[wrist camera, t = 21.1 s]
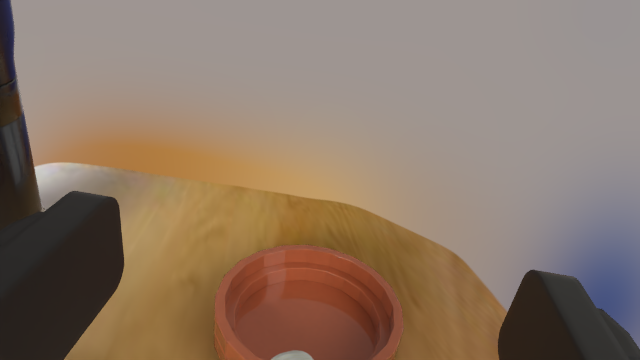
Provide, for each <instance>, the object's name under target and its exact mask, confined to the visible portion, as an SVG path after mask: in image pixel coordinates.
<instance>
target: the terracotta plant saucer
mask: <svg viewBox="0 0 640 360" xmlns="http://www.w3.org/2000/svg"><path fill="white" fill-rule="evenodd" d="M403 329H404V327H403V316H402V308H401V305H400V303H399V301H398V299H397V297H396V295H395V293H394V291H393V289H392V287H391V286H390V285H389V284H388V283H387V282H386V281H385V280H384V279H383V278H382V277H381V276H380V275H379V273H378V272H377V271H375V270H374V269H372V268H371V267H369V266H368V265H366V264H364V263H363V262H361V261H360V260H358V259H356V258H355V257H352V256H349V255H347V254H344V253H341V252H339V251H336V250H333V249H329V248H323V247H317V246H312V245H284V246H278V247H274V248H270V249H265V250H261V251H258V252H256V253H255V254H253V255H251V256H249V257H247V258H245V259H243V260H241V261H239V262H238V263H237V264H236V265H235V266H234V267H233V268H232V269H231V270H230V271H229V272H228V273H227V274H226V275H225V276H224V277H223V280H222V282H221V284H220V286H219V288H218V291H217V293H216V295H215V311H214V346H215V349H216V351H217V354H218V356H219V358H220V360H271V359H272V358H273V357H275V356H276V355H278V354H280V353H284V352H288V351H293V350H297V351H304V352H306V353H307V354H309V355H310V356H311V357H312V358H313V359H314V360H394V359H395V356H396V353H397V350H398V346H399V343H400V340H401V337H402V333H403Z"/></svg>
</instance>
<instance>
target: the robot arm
mask: <svg viewBox="0 0 640 360" xmlns="http://www.w3.org/2000/svg"><path fill="white" fill-rule="evenodd" d="M14 33H15V32H14V21H13V14H12V6H11V0H0V360H64V358H65V357H66V356H67V354H68V353H69V352H70V350H71V349H72V348H73V346H74V345H75V344H76V342H77V341H78V340H79V338H80V337H81V336H82V334H83V333H84V332H85V330H86V329H87V328H88V326H89V325H90V324H91V323H92V321H93V320H94V319H95V317H96V316H97V315H98V313H99V312H100V311H101V309H102V308H103V307H104V305H105V304H106V303H107V301H108V300H109V299H110V297H111V296H112V295H113V293H114V292H115V291H116V289H117V287H118V285H119V283H120V280H121V277H122V273H123V268H124V254H123V243H122V232H121V221H120V210H119V205H118V202H117V200H116V199H115V198H113V197H108V196H102V195H96V194H90V193H84V192H78V191H72V192H69V193H68V194H66V195H65V196H64V197H62V198H61V199H60V200H59V201H57V202H56V203H55V204H54V205H52V206H51V207H50V208H49V209H47V210H46V211H44V208H43V209H42V206H41V201H40V196H39V190H38V185H37V180H36V175H35V169H34V164H33V159H32V154H31V148H30V143H29V137H28V132H27V127H26V122H25V116H24V111H23V106H22V101H21V96H20V90H19V85H18V80H17V75H16V69H15V63H14ZM498 354H499V360H640V349H639V348H638V346H637V345H636V343H635V342H634V340H633V339H632V337H631V336H630V334H629V333H628V332H627V331H626V330H624V328H622V327H621V326H620V325H619V324H618V323H617V322H616V321H615V320H614V319H612V318H611V317H610V316H609V315H608V314H607V313H606V312H605V311H604V310H602V309H598V308H596V307H595V305H594V304H593V302H592V300H591V299H590V297H589V296H588V294H587V293H586V291H585V289H584V288H583V286H582V285H581V283H580V282H579V281H578V280H577V279H576V278H575V277H572V276H566V275H560V274H554V273H548V272H542V271H536V270H530V271H529V272H527V273H526V274H525V276H524V278H523V280H522V282H521V284H520V286H519V289H518V291H517V293H516V295H515V297H514V300H513V302H512V304H511V306H510V308H509V311H508V313H507V315H506V317H505V320H504V322H503V324H502V326H501V329H500V333H499V339H498Z"/></svg>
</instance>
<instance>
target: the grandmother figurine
mask: <svg viewBox="0 0 640 360" xmlns="http://www.w3.org/2000/svg"><path fill="white" fill-rule="evenodd" d="M271 360H314V359H313V358H312V357H311V356H310V355H309V354H307V353H306V352H304V351H297V350H293V351H288V352H284V353H280V354H278V355H276V356H275V357H273V358H272V359H271Z"/></svg>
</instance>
